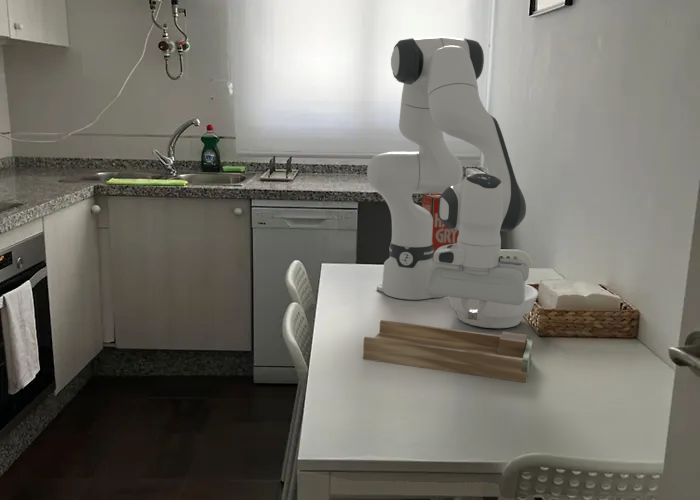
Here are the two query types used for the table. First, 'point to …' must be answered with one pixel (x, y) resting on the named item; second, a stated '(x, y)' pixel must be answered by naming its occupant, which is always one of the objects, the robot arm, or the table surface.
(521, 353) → the walnut block
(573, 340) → the table surface
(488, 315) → the bowl
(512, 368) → the trap lane
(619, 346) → the table surface
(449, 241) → the food packaging
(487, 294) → the robot arm
